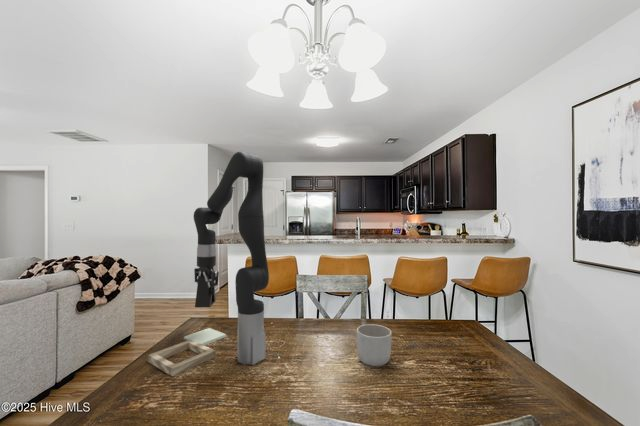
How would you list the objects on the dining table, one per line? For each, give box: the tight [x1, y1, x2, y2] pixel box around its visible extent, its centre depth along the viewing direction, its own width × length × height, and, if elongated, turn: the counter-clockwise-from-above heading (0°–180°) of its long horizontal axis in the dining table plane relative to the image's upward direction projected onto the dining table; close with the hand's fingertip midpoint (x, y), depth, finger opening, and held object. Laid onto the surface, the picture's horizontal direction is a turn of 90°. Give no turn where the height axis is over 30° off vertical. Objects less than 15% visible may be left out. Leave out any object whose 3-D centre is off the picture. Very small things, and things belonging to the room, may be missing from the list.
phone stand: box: [194, 276, 217, 308], centre depth 126 cm, size 9×6×12 cm, turn 4°
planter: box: [356, 323, 393, 367], centre depth 107 cm, size 12×12×11 cm
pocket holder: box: [147, 340, 216, 377], centre depth 107 cm, size 16×16×2 cm
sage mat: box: [183, 327, 227, 346], centre depth 125 cm, size 12×12×1 cm
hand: (205, 294), depth 126 cm, fingers closed on phone stand, 6 cm apart
